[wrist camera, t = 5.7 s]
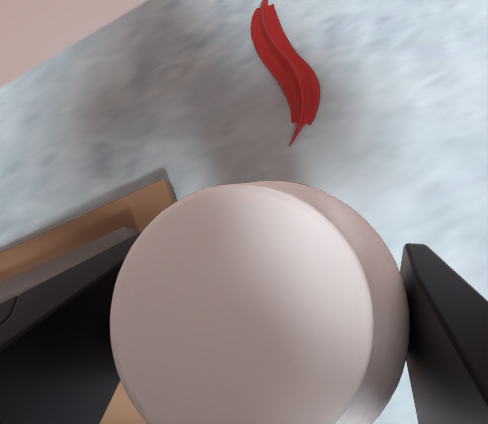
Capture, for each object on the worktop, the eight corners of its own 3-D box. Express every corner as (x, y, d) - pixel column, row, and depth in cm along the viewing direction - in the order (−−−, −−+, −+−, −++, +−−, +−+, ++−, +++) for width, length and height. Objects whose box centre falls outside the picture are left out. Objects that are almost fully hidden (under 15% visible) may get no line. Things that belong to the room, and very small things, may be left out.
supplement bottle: (206, 304, 16) (3, 294, 7) (304, 212, 16) (244, 65, 6) (299, 421, 14) (205, 651, 5) (410, 317, 14) (551, 332, 5)
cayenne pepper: (322, 151, 24) (321, 139, 22) (248, 155, 25) (241, 144, 23) (320, -14, 27) (318, -38, 25) (254, -4, 28) (248, -26, 26)
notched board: (258, 449, 20) (247, 470, 18) (5, 536, 22) (-38, 566, 20) (171, 184, 25) (152, 170, 23) (-32, 276, 27) (-70, 273, 25)
